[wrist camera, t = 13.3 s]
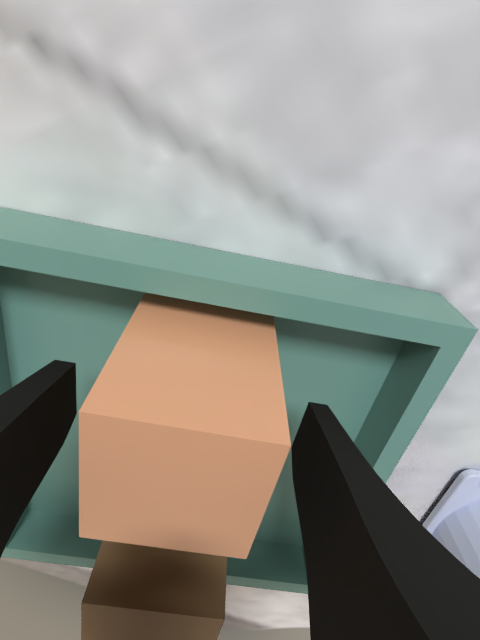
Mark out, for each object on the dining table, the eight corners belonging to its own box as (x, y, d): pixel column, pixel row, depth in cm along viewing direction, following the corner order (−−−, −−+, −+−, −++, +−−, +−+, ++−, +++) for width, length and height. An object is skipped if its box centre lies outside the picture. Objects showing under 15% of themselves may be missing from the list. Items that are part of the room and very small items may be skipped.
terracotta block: (272, 312, 13) (291, 445, 8) (246, 404, 15) (246, 559, 10) (147, 287, 13) (78, 411, 7) (138, 386, 15) (78, 537, 10)
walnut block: (231, 461, 17) (224, 620, 12) (214, 519, 19) (202, 674, 14) (133, 446, 16) (81, 603, 11) (127, 507, 19) (81, 662, 13)
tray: (440, 293, 13) (478, 329, 11) (310, 545, 21) (318, 595, 19) (-26, 202, 12) (-87, 222, 10) (18, 506, 20) (-10, 555, 17)
